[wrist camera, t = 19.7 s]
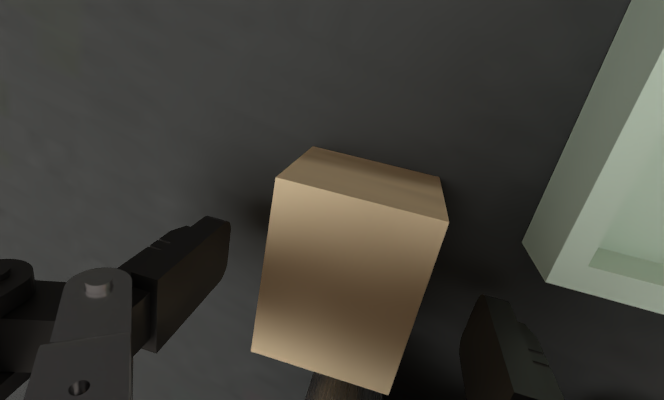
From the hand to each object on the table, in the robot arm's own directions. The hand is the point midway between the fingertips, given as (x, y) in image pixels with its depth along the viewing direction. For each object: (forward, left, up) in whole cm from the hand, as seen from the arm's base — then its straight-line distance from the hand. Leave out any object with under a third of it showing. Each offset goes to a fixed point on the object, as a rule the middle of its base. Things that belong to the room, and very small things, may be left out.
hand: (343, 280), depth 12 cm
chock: (0, 0, -3) cm, 3 cm away
